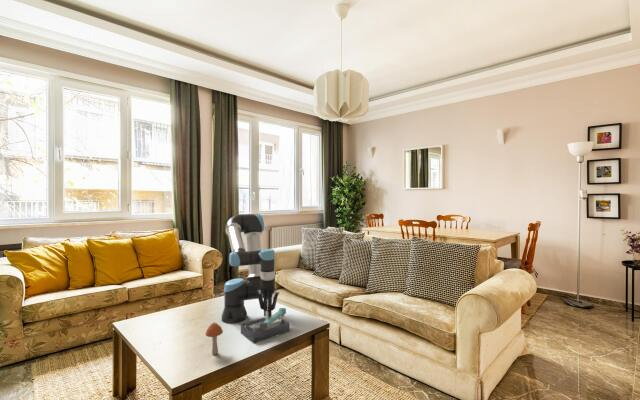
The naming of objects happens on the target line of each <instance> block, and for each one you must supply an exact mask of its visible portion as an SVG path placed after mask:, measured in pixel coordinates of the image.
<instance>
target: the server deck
mask: <svg viewBox="0 0 640 400" xmlns="http://www.w3.org/2000/svg"><path fill="white" fill-rule="evenodd" d="M264 321H265V317H262V318H258V319H255V320H250V321H248V322H244V323H240V334H241V335H242V336H244V337H245V338H246V339H247V340H249V341H250V342H251V343H253V344H256V343H258V342H261V341H264V340H265V341H266V340H267V339H271V338H274V337H277V335H278V336H282V335H283V334H286V332H287V333H289V331H291V328H290V327H291V326H290V324H291V323H290V322H289V321H287V320H286V319H285V314H284V315H282V316H281V317H279V318H278V319H277V320H275V321H274V322H273V323H272V324H270V325H269V326H268V327H267V329H266V330H264V329H260V323H261V322H264Z"/></svg>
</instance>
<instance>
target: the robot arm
mask: <svg viewBox="0 0 640 400" xmlns="http://www.w3.org/2000/svg"><path fill="white" fill-rule="evenodd" d="M224 230H225V234H226V235H227V236H228V240H229V246H230V250H231V252H230V253H229V255H228V262H229V266H230V267H243V266H244V267H245V266H248V276H246V280H245V279H244V278H242V277H241V278H240V277H239V278H238V277H237V278H233V279H230V280H228V281H226V282H225V283H224V287H223V288H224V289H223V292H224V295H223V296H224V297H223V301H224V303H223V304H224V307H223V310H222V313H221V321H222V322H224V323H228V324H236V323H240V322H244V321H245V320H247V318H248V312H247V309H246V306H245V301H250V300H258V302H259V308H260V310H263V316H264V318H265V321H266V320H267V319H268V318H270V317H271V316H272V311H273V310H275V309H276V306H277V301H278V296H279V295H280V291H277V290H276V288H275V286H276V284H275V283H276V282H275V281H276V279H275V277H276V274H275V272H276V271H275V270H276V269H275V268H276V266H275V265H276V264H275V263H276V262H275V260H276V259H275V258H276V255H275V250H274V249H271V248H264V249H263V248H262V246H261V236H262V235H263V232H264V231H265V222H264V218H263V216H262V215H261V214H258V213H250V214H249V213H247V214H243V213H242V214H241V213H239V214H235V215H233V216H230V218H229V219H228V220H227V222H226V223H225V226H224ZM242 233H243V236H245V238H246V247H245V243H244V240H243V239H244V238H243V236H242ZM246 248H247V249H246Z"/></svg>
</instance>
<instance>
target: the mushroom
mask: <svg viewBox="0 0 640 400" xmlns="http://www.w3.org/2000/svg"><path fill="white" fill-rule="evenodd" d="M222 328H223V327H221V326H220V325H219V324H218V323H216V322H212V323H210V325H209V326H208V327H207V329H206V332H205V336H206V337H209V338H212V339H211V340H212V344H211V345H212V346H211V347H212V349H211V353H212V355H218V354H219V347H218V336H221V335H222V334H223V332H224V329H222Z"/></svg>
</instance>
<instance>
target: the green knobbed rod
mask: <svg viewBox="0 0 640 400" xmlns="http://www.w3.org/2000/svg"><path fill="white" fill-rule="evenodd" d="M286 314H287V309H286V307H280V308H278V311H276V312H275V313H274V314H273V315H271V317H270V318H268V319H267V320H266V321H264V322H261V323H260V329H264V330H266V329H267V327H268V326H269V325H270V324H272V323H273V322H274V321H275V320H277V319H278V318H279V317H281V316H282V315H284V316H285V315H286Z"/></svg>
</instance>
